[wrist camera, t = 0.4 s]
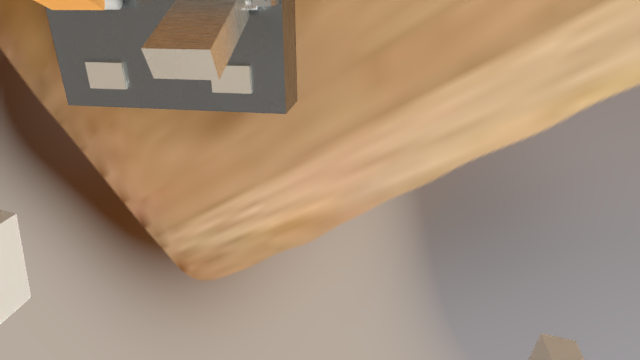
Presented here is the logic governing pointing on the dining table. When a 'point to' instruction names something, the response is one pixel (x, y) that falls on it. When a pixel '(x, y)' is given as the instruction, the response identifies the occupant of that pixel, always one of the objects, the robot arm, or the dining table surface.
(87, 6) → the orange and white block
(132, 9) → the panel
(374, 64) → the dining table surface
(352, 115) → the dining table surface
